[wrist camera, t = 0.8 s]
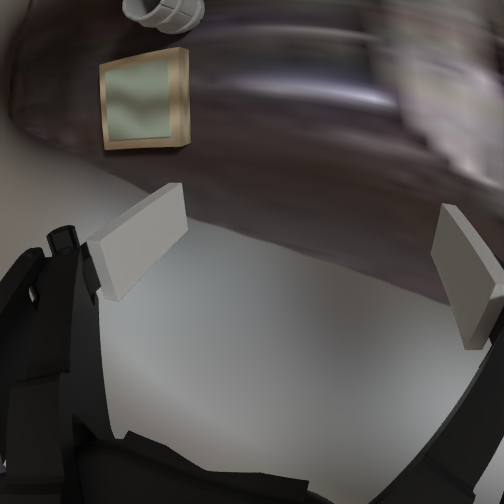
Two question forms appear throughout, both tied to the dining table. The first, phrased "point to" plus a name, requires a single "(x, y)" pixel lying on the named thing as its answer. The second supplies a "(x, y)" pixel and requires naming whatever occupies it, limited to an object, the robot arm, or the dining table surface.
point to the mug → (165, 14)
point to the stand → (146, 100)
